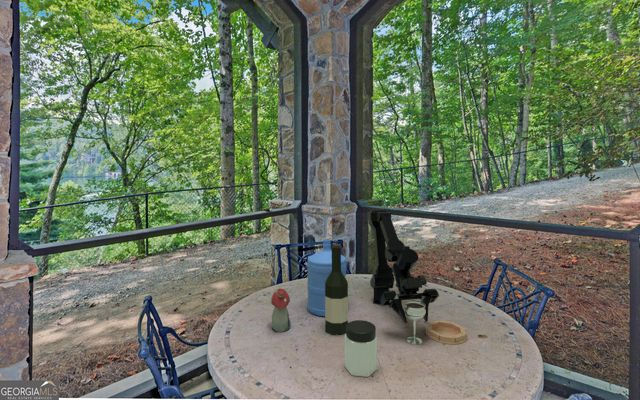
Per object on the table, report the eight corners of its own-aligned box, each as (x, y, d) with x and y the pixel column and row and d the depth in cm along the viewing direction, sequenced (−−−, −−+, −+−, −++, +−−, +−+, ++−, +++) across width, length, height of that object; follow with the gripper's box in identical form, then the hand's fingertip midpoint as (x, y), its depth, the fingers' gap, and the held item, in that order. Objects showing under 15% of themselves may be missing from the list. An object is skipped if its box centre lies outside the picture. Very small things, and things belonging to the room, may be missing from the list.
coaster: (425, 341, 105) (425, 335, 105) (425, 323, 118) (425, 318, 117) (469, 347, 101) (469, 340, 101) (464, 328, 114) (464, 322, 114)
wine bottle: (351, 326, 115) (351, 243, 113) (343, 337, 108) (343, 248, 106) (330, 322, 119) (329, 241, 117) (320, 332, 111) (320, 246, 109)
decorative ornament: (286, 334, 110) (286, 291, 109) (268, 333, 111) (267, 290, 110) (292, 322, 119) (292, 282, 118) (275, 321, 120) (274, 281, 119)
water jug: (301, 313, 127) (300, 242, 125) (316, 299, 141) (316, 235, 139) (339, 320, 121) (339, 245, 119) (351, 304, 135) (351, 237, 133)
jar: (357, 356, 97) (357, 316, 96) (381, 366, 92) (381, 324, 91) (339, 369, 90) (339, 327, 89) (364, 381, 85) (364, 337, 84)
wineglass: (422, 347, 101) (422, 310, 100) (400, 342, 105) (401, 305, 104) (427, 338, 107) (428, 302, 106) (407, 333, 110) (407, 298, 109)
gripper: (383, 267, 107) (395, 314, 97) (437, 265, 109) (454, 310, 99) (375, 283, 115) (385, 328, 105) (425, 280, 117) (440, 324, 107)
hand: (416, 322), depth 104 cm, fingers open, 7 cm apart
